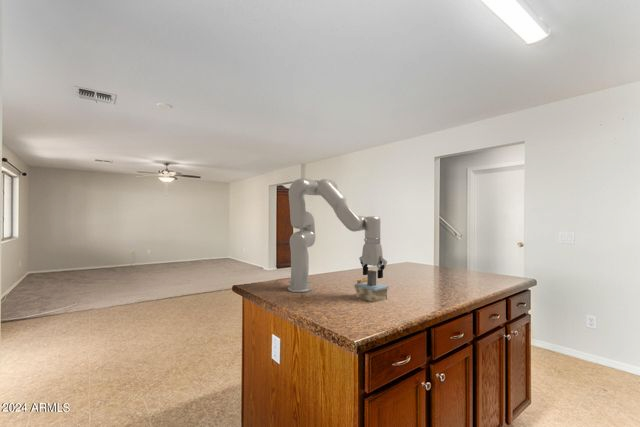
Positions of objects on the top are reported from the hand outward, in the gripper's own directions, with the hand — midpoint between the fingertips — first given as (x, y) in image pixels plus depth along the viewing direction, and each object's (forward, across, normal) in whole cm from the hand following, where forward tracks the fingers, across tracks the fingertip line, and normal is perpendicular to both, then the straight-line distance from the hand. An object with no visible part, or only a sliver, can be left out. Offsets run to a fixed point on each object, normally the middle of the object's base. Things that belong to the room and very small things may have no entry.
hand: (372, 276), depth 157 cm
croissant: (+12, -14, +11) cm, 21 cm away
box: (+11, 0, 0) cm, 11 cm away
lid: (+5, 0, 0) cm, 5 cm away
